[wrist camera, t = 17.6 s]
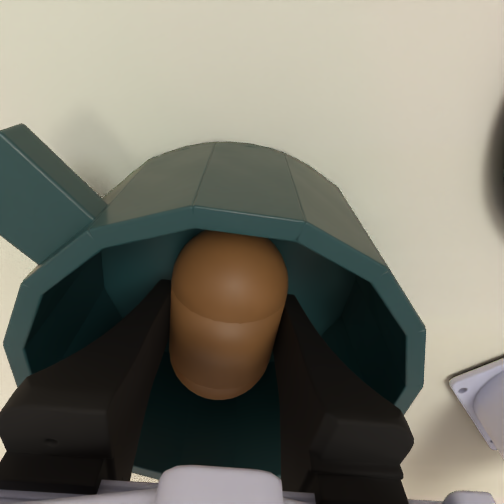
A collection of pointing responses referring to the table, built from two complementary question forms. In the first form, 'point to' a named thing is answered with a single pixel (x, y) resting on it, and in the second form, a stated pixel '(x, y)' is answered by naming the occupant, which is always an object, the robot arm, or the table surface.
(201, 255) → the brown cylinder
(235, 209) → the pot
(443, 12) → the table surface
